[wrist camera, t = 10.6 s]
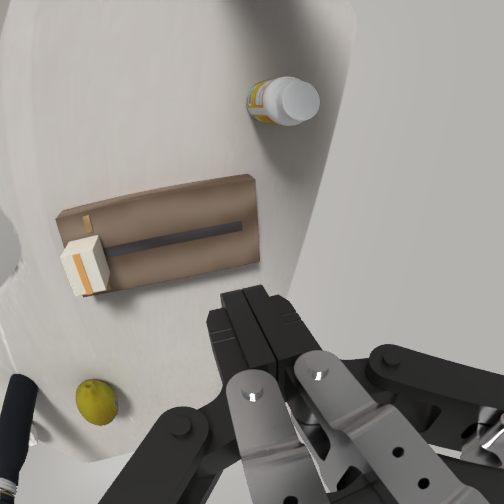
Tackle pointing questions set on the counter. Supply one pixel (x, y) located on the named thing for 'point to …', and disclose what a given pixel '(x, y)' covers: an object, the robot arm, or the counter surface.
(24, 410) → the black water bottle
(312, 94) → the supplement bottle
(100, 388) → the lemon
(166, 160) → the counter surface
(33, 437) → the cell model
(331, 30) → the counter surface
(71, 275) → the block
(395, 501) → the robot arm
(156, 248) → the brown flat piece
